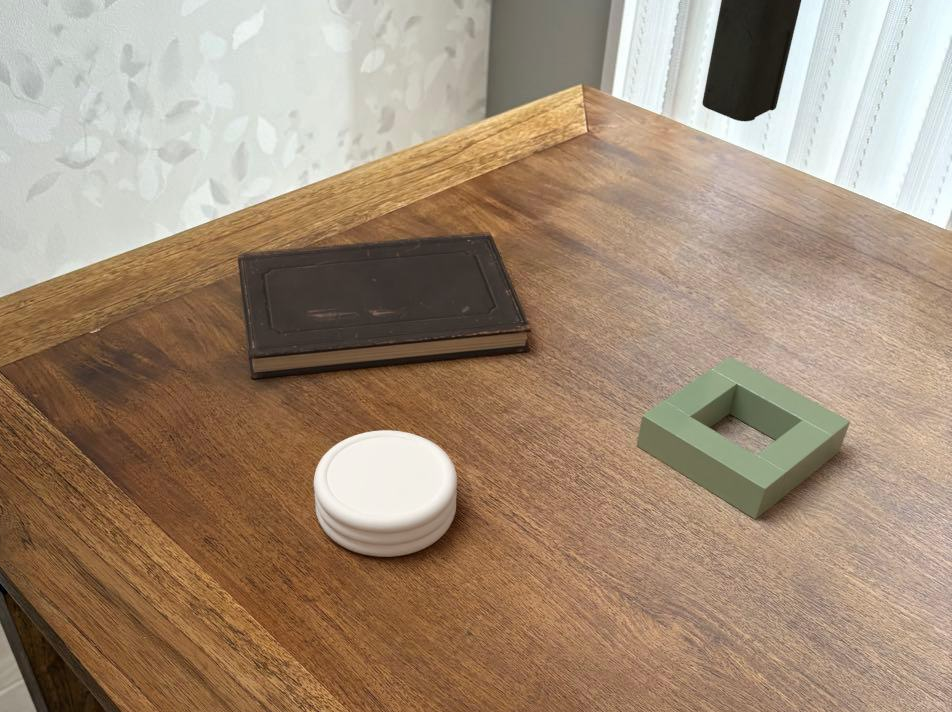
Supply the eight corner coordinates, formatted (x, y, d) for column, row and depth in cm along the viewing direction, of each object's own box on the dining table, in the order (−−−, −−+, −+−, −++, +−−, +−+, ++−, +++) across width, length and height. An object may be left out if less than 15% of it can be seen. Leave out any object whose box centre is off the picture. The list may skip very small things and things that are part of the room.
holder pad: (722, 386, 89) (729, 355, 87) (839, 451, 84) (851, 420, 81) (636, 445, 84) (642, 414, 82) (755, 519, 79) (765, 488, 76)
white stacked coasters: (443, 569, 75) (445, 533, 73) (300, 550, 76) (296, 513, 74) (465, 471, 82) (467, 435, 79) (334, 455, 83) (331, 419, 81)
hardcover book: (528, 351, 92) (531, 328, 91) (251, 379, 90) (248, 356, 88) (487, 250, 103) (489, 228, 102) (239, 272, 101) (236, 249, 99)
